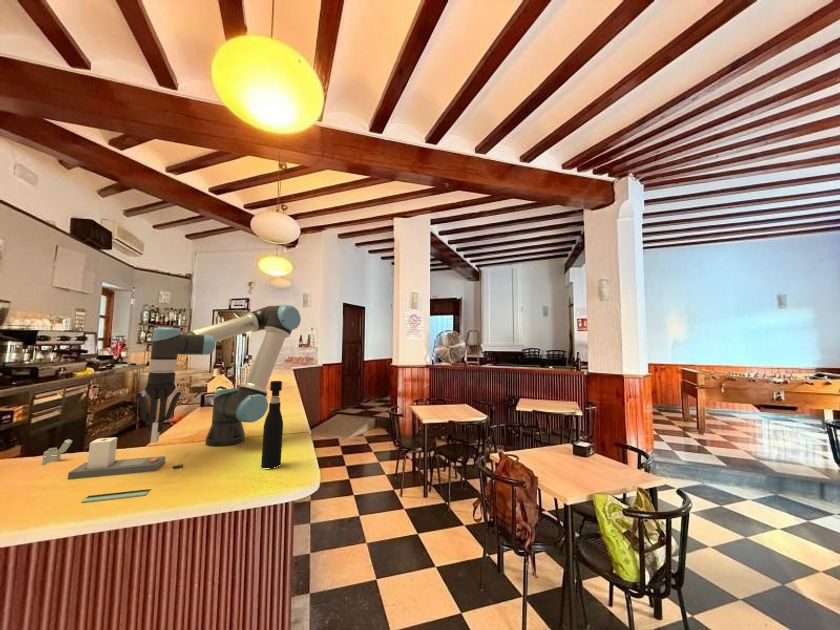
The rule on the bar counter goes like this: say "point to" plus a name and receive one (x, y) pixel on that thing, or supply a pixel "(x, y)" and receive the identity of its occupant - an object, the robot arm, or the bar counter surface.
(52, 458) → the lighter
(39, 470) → the bar counter surface
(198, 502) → the bar counter surface
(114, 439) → the charger
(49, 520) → the bar counter surface
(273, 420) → the wine bottle
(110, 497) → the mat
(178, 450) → the bar counter surface
